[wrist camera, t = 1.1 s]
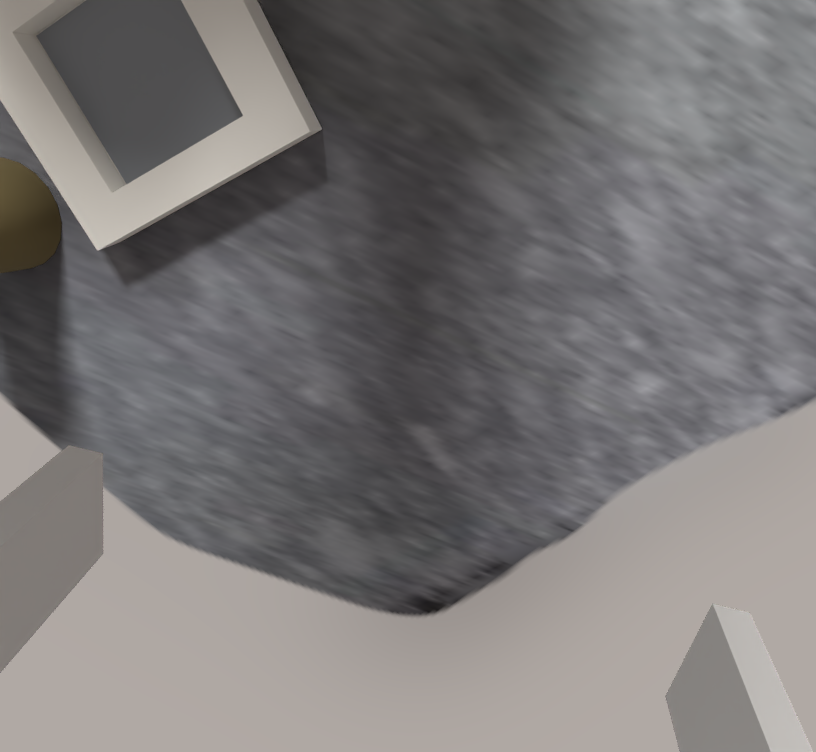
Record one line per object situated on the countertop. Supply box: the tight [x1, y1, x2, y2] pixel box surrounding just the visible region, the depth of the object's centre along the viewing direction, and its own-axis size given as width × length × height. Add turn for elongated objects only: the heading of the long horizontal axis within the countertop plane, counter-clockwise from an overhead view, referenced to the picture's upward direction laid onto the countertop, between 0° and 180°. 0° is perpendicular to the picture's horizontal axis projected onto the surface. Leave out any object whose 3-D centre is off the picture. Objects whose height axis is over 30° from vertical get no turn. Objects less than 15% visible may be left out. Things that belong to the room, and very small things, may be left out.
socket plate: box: [0, 0, 322, 251], centre depth 31 cm, size 15×13×2 cm
